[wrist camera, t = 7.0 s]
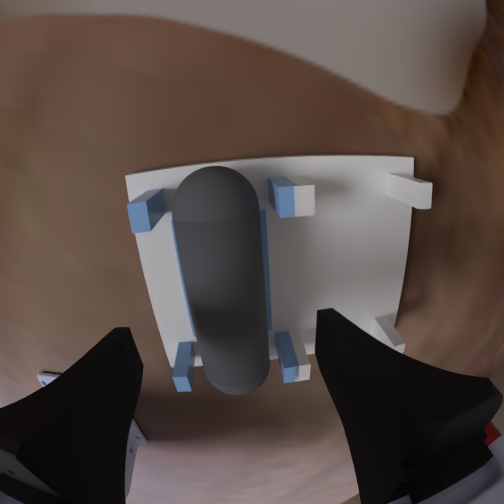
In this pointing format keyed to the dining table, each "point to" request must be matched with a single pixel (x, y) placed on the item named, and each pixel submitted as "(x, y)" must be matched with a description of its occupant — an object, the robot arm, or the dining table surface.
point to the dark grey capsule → (224, 275)
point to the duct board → (293, 249)
